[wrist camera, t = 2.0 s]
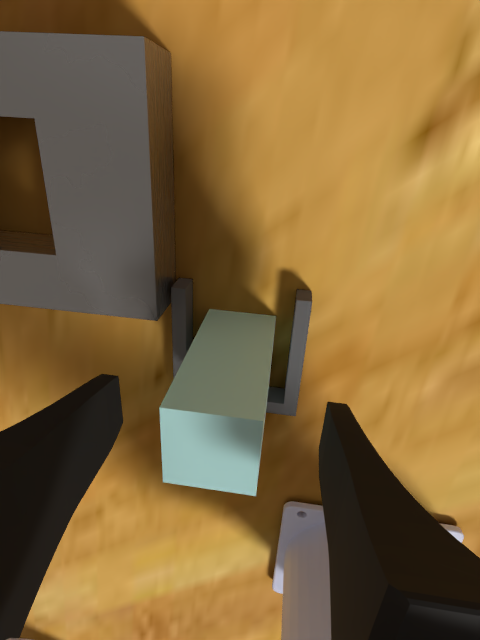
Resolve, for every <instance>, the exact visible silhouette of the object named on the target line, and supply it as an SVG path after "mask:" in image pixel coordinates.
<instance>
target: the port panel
mask: <svg viewBox="0 0 480 640" xmlns="http://www.w3.org/2000/svg"><path fill="white" fill-rule="evenodd" d="M0 116H2V117H19V118H34V119H35V125H36V132H37V138H38V144H39V150H40V157H41V163H42V169H43V175H44V182H45V188H46V194H47V201H48V207H49V213H50V219H51V226H52V232H53V235H47V234H36V233H25V232H14V231H3V230H0V304H8V305H17V306H27V307H36V308H45V309H54V310H63V311H72V312H82V313H91V314H100V315H109V316H118V317H127V318H136V319H146V320H155V321H157V320H158V319H159V318H160V316H161V315H162V314H163V312H164V311H165V310H166V308H167V307H168V306H169V304H170V303H171V287H172V286H173V285H174V283H175V282H176V265H175V218H174V172H173V126H172V79H171V53H170V52H168V51H167V50H165V49H164V48H162V47H160V46H159V45H157V44H156V43H154V42H152V41H151V40H149V39H147V38H146V37H144V36H117V35H89V34H60V33H32V32H4V31H0Z"/></svg>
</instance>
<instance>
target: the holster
mask: <svg viewBox="0 0 480 640" xmlns="http://www.w3.org/2000/svg"><path fill="white" fill-rule="evenodd" d="M171 304H172V340H173V376H174V378H175V376H176V374H177V372H178V370H179V368H180V366H181V364H182V362H183V360H184V358H185V356H186V354H187V352H188V350H189V348H190V346H191V344H192V342H193V279H187V278H179V279H178V280H177V281H176V282H175V283H174V285H173V286H172V287H171ZM311 306H312V293H311V291H310V290H299V289H297V293H296V301H295V309H294V317H293V325H292V333H291V341H290V349H289V357H288V365H287V373H286V381H285V388H277V387H269V389H268V398H267V406H266V412H267V413H275V414H282V415H290V416H296V410H297V403H298V396H299V389H300V382H301V375H302V368H303V361H304V355H305V348H306V341H307V334H308V327H309V320H310V313H311Z"/></svg>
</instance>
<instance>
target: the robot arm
mask: <svg viewBox="0 0 480 640" xmlns="http://www.w3.org/2000/svg"><path fill="white" fill-rule="evenodd" d="M122 424H123V416H122V406H121V397H120V387H119V378H118V376H114V375H106V374H101V375H99V376H97V377H95V378H94V379H92V380H90V381H89V382H87V383H85V384H84V385H82V386H81V387H79V388H77V389H76V390H74V391H73V392H71V393H69V394H68V395H66V396H65V397H63V398H61V399H60V400H58V401H56V402H55V403H53V404H51V405H50V406H48V407H46V408H44V409H43V410H41V411H39V412H37V413H35V414H34V415H32V416H30V417H28V418H27V419H25V420H23V421H21V422H19V423H17V424H15V425H13V426H11V427H9V428H7V429H5V430H3V431H1V432H0V640H33V639H23V638H19V637H20V635H21V632H22V630H23V627H24V624H25V622H26V619H27V617H28V614H29V612H30V609H31V607H32V604H33V602H34V600H35V597H36V595H37V592H38V590H39V588H40V585H41V583H42V580H43V578H44V576H45V573H46V571H47V569H48V567H49V564H50V562H51V560H52V558H53V555H54V553H55V551H56V549H57V546H58V544H59V542H60V540H61V538H62V536H63V534H64V532H65V530H66V527H67V525H68V523H69V521H70V519H71V517H72V515H73V513H74V511H75V510H76V508H77V506H78V504H79V503H80V501H81V499H82V498H83V496H84V494H85V493H86V491H87V489H88V488H89V486H90V484H91V483H92V481H93V479H94V478H95V476H96V474H97V473H98V471H99V469H100V468H101V466H102V464H103V463H104V461H105V459H106V458H107V456H108V454H109V452H110V451H111V449H112V447H113V445H114V442H115V440H116V438H117V436H118V433H119V431H120V428H121V426H122ZM319 480H320V488H321V496H322V504H323V506H321V505H314V504H307V503H301V502H294V501H290V502H287V503H286V504H285V505H284V508H283V515H282V521H281V528H280V535H279V542H278V549H277V555H276V562H275V569H274V576H273V584H272V588H273V590H274V591H275V592H277V593H282V594H283V605H282V633H281V640H480V558H479V557H478V556H476V555H475V554H474V553H473V552H472V551H470V550H469V549H468V548H467V547H466V546H464V545H463V544H462V541H463V539H464V535H463V533H462V530H461V529H460V528H459V527H457V526H453V525H447V524H440V523H438V522H437V521H436V520H435V519H434V518H433V517H432V516H431V515H430V514H429V513H428V512H427V511H426V510H425V509H424V508H423V507H422V506H421V505H420V504H419V503H418V502H417V501H416V500H415V499H414V498H413V496H412V495H411V494H410V493H409V492H408V491H407V490H406V489H405V488H404V486H403V485H402V484H401V483H400V482H399V480H398V479H397V478H396V477H395V476H394V474H393V473H392V472H391V470H390V469H389V468H388V466H387V465H386V464H385V463H384V461H383V460H382V458H381V457H380V456H379V454H378V453H377V451H376V450H375V448H374V447H373V445H372V444H371V443H370V441H369V440H368V438H367V437H366V435H365V433H364V432H363V430H362V429H361V427H360V425H359V424H358V422H357V420H356V419H355V417H354V415H353V413H352V412H351V410H350V408H349V407H348V405H347V404H342V403H334V402H328V403H327V408H326V413H325V419H324V424H323V429H322V434H321V440H320V445H319ZM301 511H303V512H301Z"/></svg>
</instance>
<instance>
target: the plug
mask: <svg viewBox="0 0 480 640" xmlns="http://www.w3.org/2000/svg"><path fill="white" fill-rule="evenodd" d="M275 323H276V316H272V315H263V314H253V313H244V312H234V311H225V310H215V309H209V310H208V312H207V314H206V316H205V318H204V320H203V322H202V324H201V326H200V328H199V330H198V332H197V334H196V336H195V338H194V340H193V342H192V344H191V346H190V348H189V350H188V352H187V354H186V356H185V358H184V360H183V362H182V364H181V366H180V368H179V370H178V372H177V374H176V376H175V378H174V380H173V382H172V384H171V386H170V388H169V389H168V391H167V393H166V395H165V397H164V399H163V401H162V403H161V405H160V407H159V410H160V431H161V451H162V472H163V482H165V483H172V484H178V485H185V486H192V487H198V488H205V489H212V490H218V491H225V492H231V493H238V494H245V495H251V496H256V492H257V483H258V474H259V466H260V457H261V449H262V440H263V432H264V423H265V415H266V406H267V398H268V389H269V381H270V372H271V362H272V353H273V343H274V333H275Z"/></svg>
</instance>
